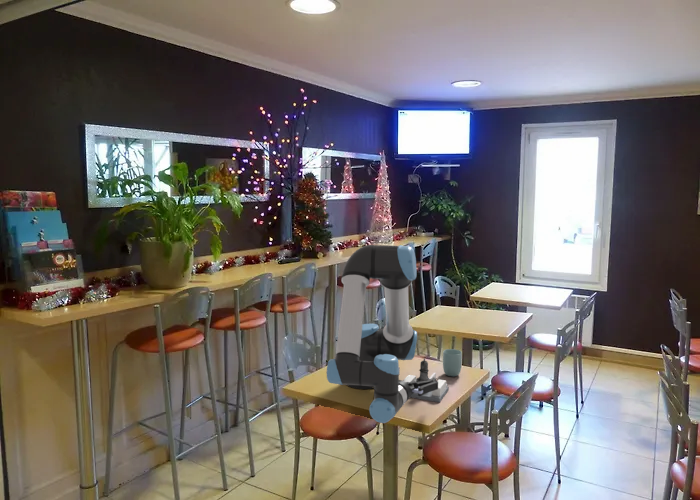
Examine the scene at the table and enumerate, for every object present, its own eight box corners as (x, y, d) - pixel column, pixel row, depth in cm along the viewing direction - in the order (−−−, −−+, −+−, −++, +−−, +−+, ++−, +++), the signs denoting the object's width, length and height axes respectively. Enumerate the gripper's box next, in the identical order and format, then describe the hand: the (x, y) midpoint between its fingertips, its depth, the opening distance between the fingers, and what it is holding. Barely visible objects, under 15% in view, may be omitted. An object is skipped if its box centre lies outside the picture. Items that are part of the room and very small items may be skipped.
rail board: (398, 395, 198) (398, 383, 198) (409, 383, 210) (409, 372, 209) (439, 402, 192) (440, 390, 191) (448, 390, 203) (448, 379, 203)
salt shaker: (434, 388, 201) (435, 358, 200) (425, 393, 196) (426, 361, 195) (421, 384, 205) (422, 355, 203) (412, 389, 200) (413, 358, 199)
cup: (461, 378, 216) (462, 355, 215) (442, 377, 217) (442, 354, 216) (461, 372, 223) (461, 349, 222) (442, 371, 225) (443, 348, 224)
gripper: (361, 399, 177) (384, 378, 196) (433, 412, 167) (450, 389, 186) (361, 377, 176) (384, 358, 195) (434, 389, 166) (450, 368, 185)
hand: (416, 373), depth 191 cm, fingers open, 13 cm apart
